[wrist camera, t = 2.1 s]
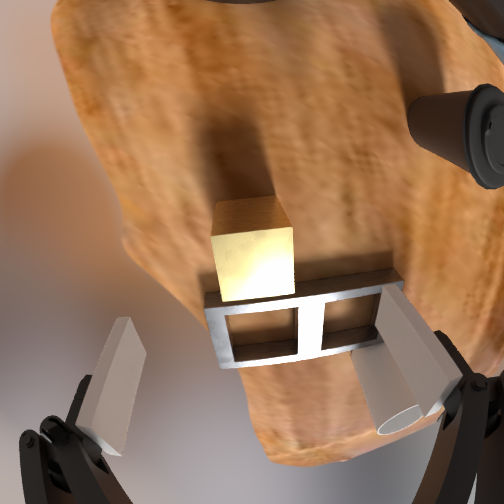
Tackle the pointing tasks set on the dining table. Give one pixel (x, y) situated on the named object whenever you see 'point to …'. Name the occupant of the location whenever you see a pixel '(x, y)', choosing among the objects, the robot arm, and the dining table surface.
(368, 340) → the grey flat frame
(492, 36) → the robot arm
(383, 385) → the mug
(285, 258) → the pale yellow block
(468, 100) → the coffee cup
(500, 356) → the dining table surface
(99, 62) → the dining table surface
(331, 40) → the dining table surface
